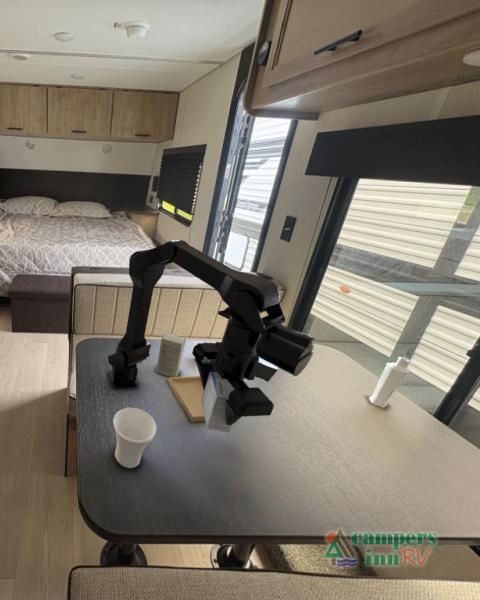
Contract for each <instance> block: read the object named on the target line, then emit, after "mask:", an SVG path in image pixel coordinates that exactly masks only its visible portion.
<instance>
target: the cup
mask: <svg viewBox="0 0 480 600" xmlns="http://www.w3.org/2000/svg"><path fill="white" fill-rule="evenodd" d="M112 424H113V428H114V432H115V438H116V447H115V450H114V457H115V459H116V462H117V463H118V464H119V465H120V466H122V467H124V468H127V469H133V468H136V467H137V466H139V464H140V463H141V458H142V455H143V453H144V450H145V448H146V447H147V446H148V445H149V444H150V442H151V441H152V440H153V439H154V438H155V436H156V435H157V430H158V429H157V423H156V421H155V419H154V418H153V416H152V415H150V414H149V412H146V411H144V410H143V409H140V408H136V407H123V408H122V409H120V410H118V411H117V412H116V413H115V414H114V416H113V419H112Z"/></svg>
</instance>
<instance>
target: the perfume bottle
mask: <svg viewBox="0 0 480 600" xmlns="http://www.w3.org/2000/svg"><path fill="white" fill-rule="evenodd" d="M409 362H410V359H408V358H407V357H404V356H398V358H397V360H396V362H387V363H386V364H385V367H384V369H383V371H382V373H381V376H380V379H378V382H377V385H376V387H375V389H374V392H373V393H372V395H371V396H369V397H368V400H369V402H370V403H371V404H372V405H374V406H378V407H380V408H382V409H384V408H386V407H387V406H388V401H389V400H390V399H391V397H392V396H393V395H394V393H395V392H397V389H398V388H399V387H400V385H402V383H403V382H404V380H405V379H406V377H408V376H409V374H410V372H411V371H412V370H411V369H410V368H408V367H407V365H408V363H409Z"/></svg>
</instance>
